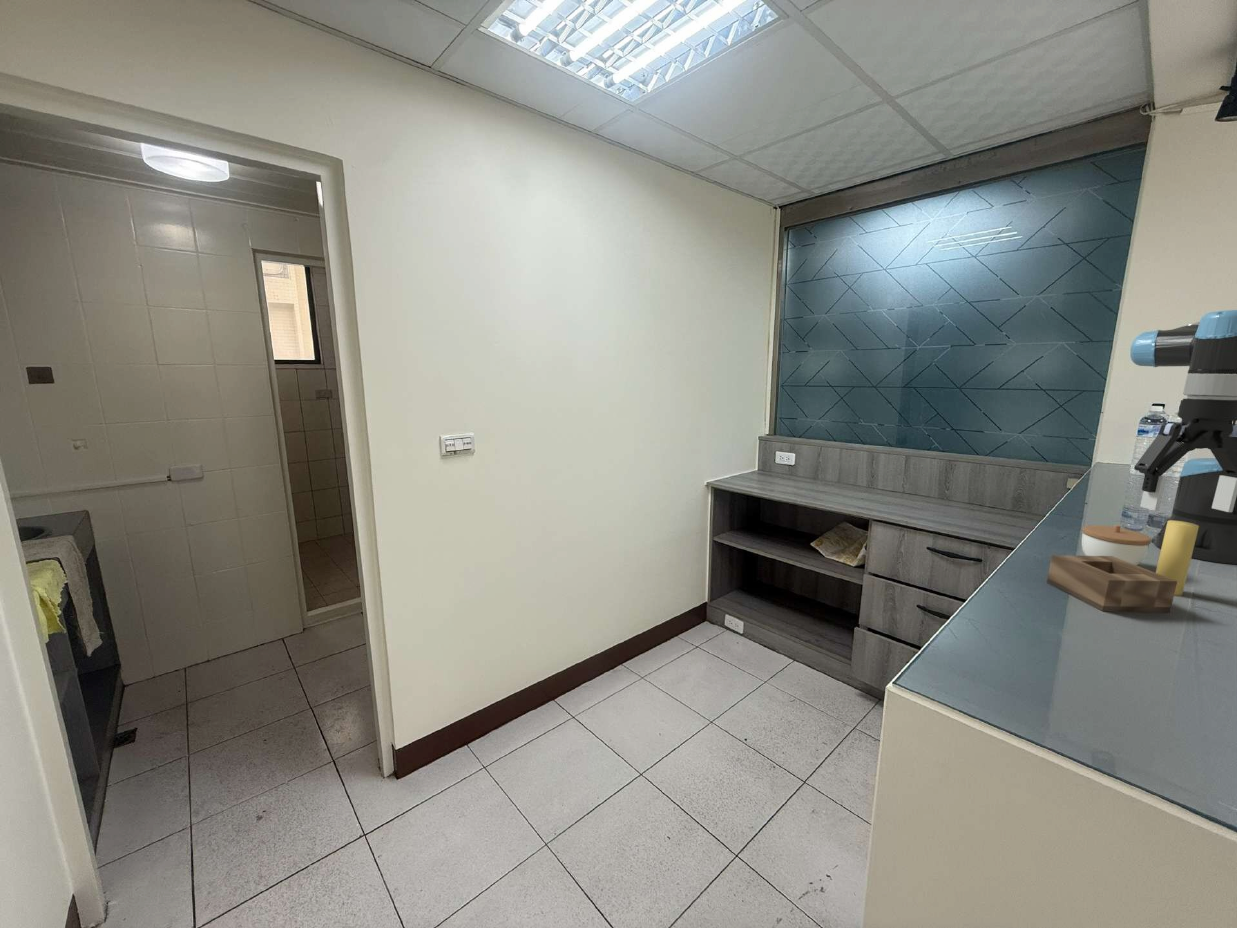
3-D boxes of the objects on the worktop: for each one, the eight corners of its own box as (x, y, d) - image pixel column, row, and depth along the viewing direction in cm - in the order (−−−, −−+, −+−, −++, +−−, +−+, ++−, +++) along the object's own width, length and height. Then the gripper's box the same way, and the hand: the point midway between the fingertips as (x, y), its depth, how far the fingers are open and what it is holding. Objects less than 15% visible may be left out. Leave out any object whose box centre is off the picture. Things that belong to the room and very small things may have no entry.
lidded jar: (1113, 557, 114) (1121, 519, 113) (1158, 576, 104) (1168, 534, 102) (1064, 555, 115) (1071, 517, 114) (1103, 574, 105) (1112, 532, 103)
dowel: (1166, 586, 99) (1182, 520, 96) (1188, 595, 95) (1205, 526, 92) (1146, 586, 99) (1161, 520, 96) (1167, 595, 95) (1183, 526, 92)
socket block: (1106, 583, 100) (1112, 556, 99) (1169, 612, 88) (1177, 581, 87) (1046, 582, 100) (1051, 555, 99) (1102, 611, 88) (1108, 580, 87)
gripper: (1256, 398, 93) (1228, 505, 97) (1123, 395, 94) (1100, 502, 98) (1310, 400, 86) (1277, 516, 90) (1165, 398, 86) (1139, 513, 90)
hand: (1185, 509), depth 94 cm, fingers open, 13 cm apart
